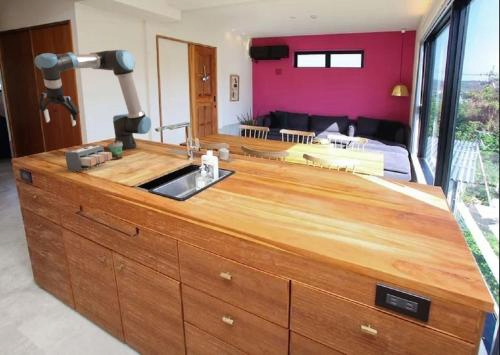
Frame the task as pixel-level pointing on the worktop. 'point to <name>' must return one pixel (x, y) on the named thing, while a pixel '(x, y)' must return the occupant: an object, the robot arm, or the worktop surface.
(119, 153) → the food container
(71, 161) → the grey slotted holder
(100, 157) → the plunger middle
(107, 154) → the plunger
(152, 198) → the worktop surface
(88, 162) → the plunger
